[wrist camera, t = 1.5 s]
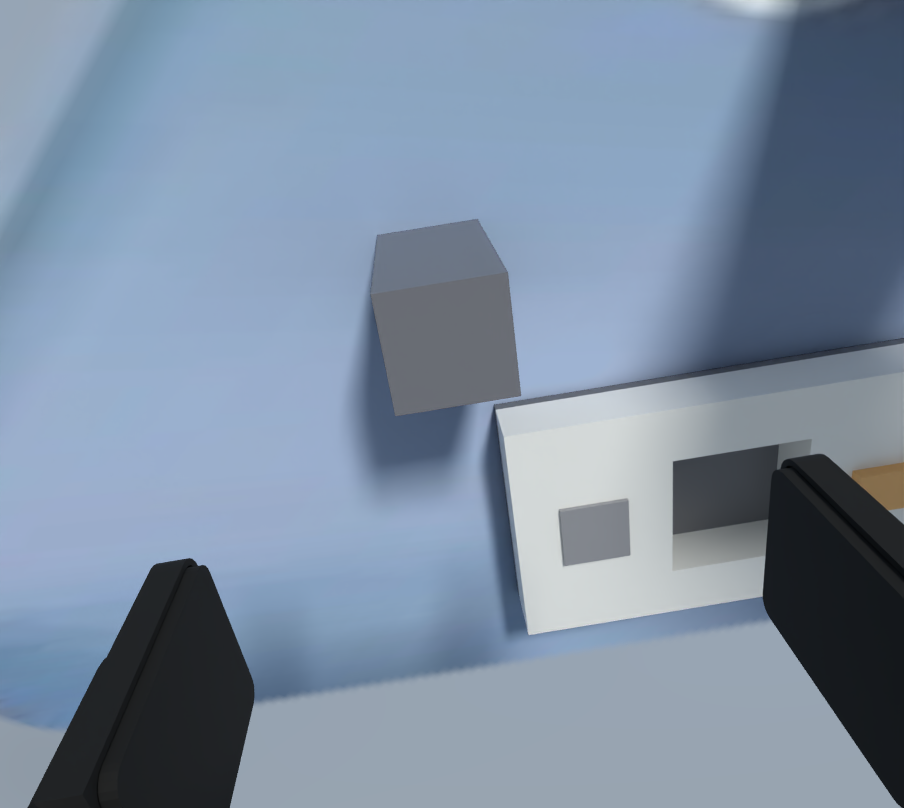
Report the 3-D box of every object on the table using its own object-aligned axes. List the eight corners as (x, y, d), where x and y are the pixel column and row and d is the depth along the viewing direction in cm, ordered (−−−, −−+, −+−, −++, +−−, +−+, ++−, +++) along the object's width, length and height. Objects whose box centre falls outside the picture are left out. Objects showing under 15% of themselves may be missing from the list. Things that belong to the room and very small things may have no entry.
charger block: (477, 219, 27) (507, 272, 19) (489, 314, 28) (521, 395, 21) (377, 235, 27) (370, 294, 19) (395, 329, 28) (395, 416, 21)
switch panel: (933, 333, 30) (997, 364, 27) (896, 530, 35) (947, 576, 32) (494, 404, 30) (505, 444, 27) (518, 591, 35) (530, 644, 32)
